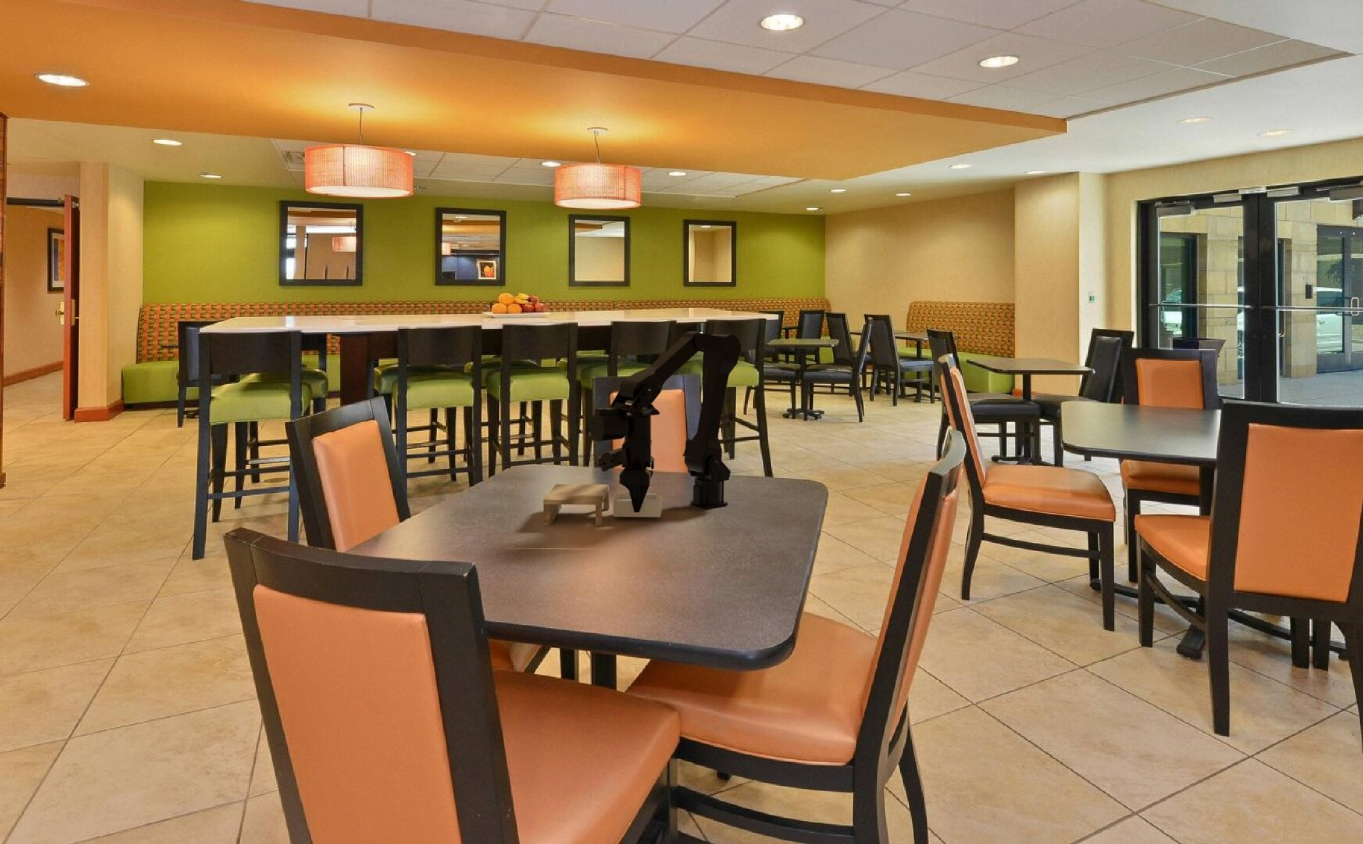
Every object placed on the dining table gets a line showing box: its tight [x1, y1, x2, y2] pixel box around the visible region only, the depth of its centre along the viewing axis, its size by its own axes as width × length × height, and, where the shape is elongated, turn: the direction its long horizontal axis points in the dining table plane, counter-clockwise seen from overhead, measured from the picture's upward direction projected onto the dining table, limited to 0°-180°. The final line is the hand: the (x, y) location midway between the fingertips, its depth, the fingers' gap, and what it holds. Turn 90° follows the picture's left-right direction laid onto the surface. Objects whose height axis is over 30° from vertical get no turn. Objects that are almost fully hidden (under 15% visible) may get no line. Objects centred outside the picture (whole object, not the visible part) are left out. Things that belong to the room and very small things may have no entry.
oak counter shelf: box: [542, 483, 610, 527], centre depth 167 cm, size 12×14×6 cm
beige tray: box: [612, 492, 663, 518], centre depth 167 cm, size 10×6×4 cm, turn 89°
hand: (637, 508), depth 167 cm, fingers closed on beige tray, 6 cm apart
